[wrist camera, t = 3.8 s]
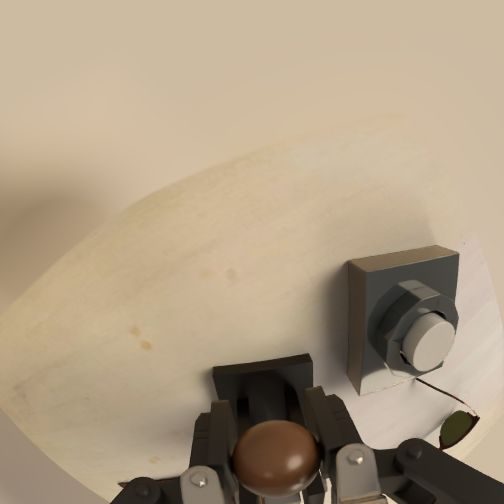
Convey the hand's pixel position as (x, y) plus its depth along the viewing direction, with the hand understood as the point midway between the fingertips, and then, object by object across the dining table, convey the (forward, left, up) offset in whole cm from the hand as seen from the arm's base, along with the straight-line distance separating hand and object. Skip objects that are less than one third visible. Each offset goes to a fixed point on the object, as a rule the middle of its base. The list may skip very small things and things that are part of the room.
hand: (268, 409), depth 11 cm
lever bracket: (+9, 0, -10) cm, 14 cm away
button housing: (+2, +12, -10) cm, 16 cm away
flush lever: (+4, 0, 0) cm, 4 cm away
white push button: (+2, +12, -6) cm, 14 cm away
